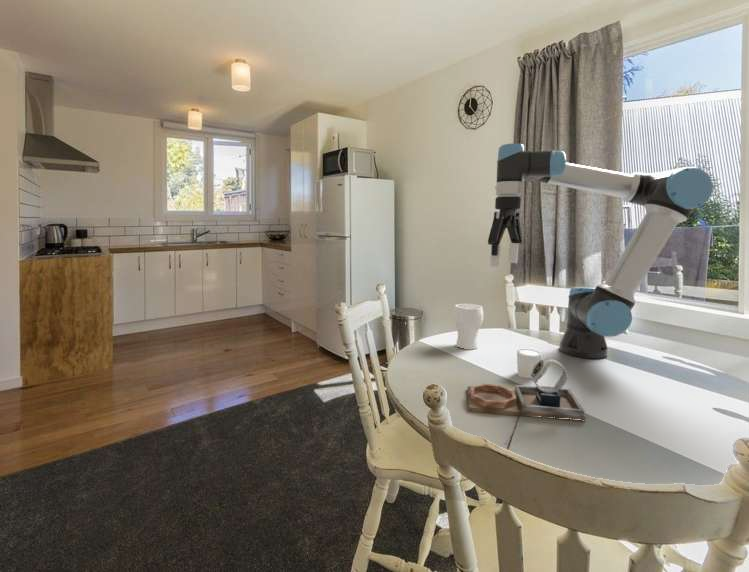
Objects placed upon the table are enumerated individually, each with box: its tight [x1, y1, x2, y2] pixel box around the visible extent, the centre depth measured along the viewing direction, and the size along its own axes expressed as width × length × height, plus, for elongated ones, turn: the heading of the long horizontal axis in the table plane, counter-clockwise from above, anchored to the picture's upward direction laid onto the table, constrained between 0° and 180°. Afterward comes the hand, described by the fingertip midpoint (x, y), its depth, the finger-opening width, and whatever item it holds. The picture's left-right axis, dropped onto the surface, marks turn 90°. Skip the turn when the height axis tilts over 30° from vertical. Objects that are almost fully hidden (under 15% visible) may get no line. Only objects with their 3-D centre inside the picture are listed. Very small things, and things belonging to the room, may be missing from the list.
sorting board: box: [467, 383, 586, 421], centre depth 103 cm, size 26×13×2 cm, turn 79°
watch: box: [531, 358, 568, 407], centre depth 101 cm, size 6×8×11 cm
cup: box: [452, 303, 484, 350], centre depth 150 cm, size 11×11×15 cm
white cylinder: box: [516, 348, 542, 379], centre depth 123 cm, size 7×7×7 cm
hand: (504, 264), depth 131 cm, fingers open, 13 cm apart
